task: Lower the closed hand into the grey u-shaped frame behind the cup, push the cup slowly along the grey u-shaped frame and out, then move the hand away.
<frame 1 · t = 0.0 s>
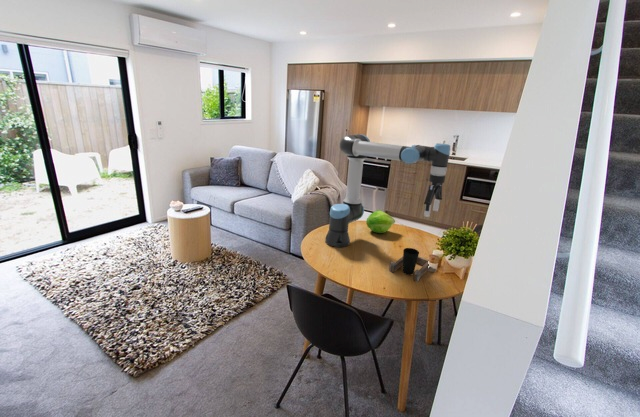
hand: (431, 213, 165), 28 cm above the table, fingers open, 13 cm apart
lettuce: (379, 232, 212), on the table
grey u-shaped frame: (410, 269, 163), on the table
cup: (407, 272, 161), on the table
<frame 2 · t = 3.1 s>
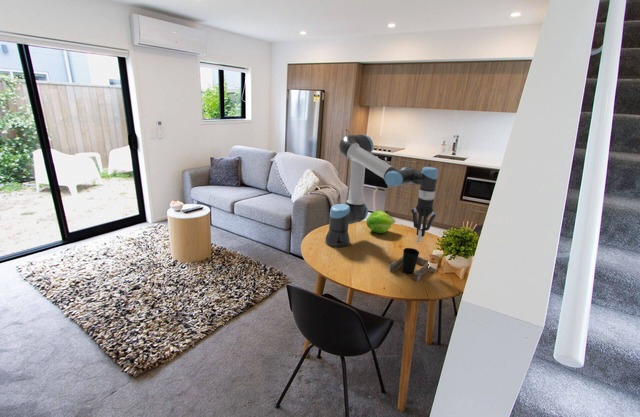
hand: (419, 241, 163), 14 cm above the table, fingers closed
nothing on the table moved.
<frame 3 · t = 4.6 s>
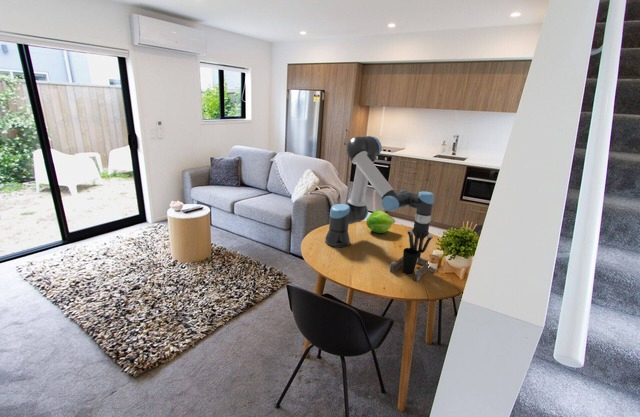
hand: (415, 262, 167), 2 cm above the table, fingers closed
nothing on the table moved.
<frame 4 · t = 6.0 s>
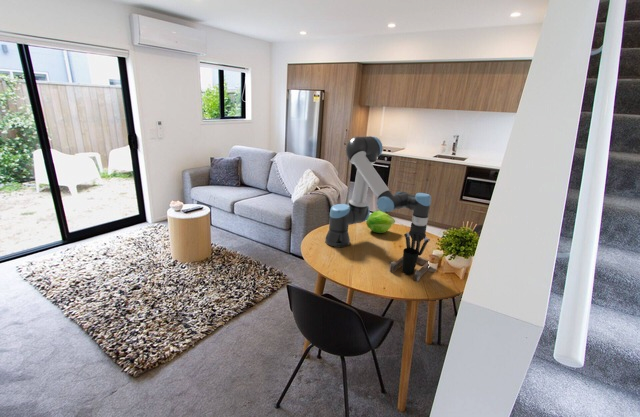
hand: (412, 265, 164), 2 cm above the table, fingers closed
cup: (407, 272, 160), on the table, touching gripper
everything else where it was.
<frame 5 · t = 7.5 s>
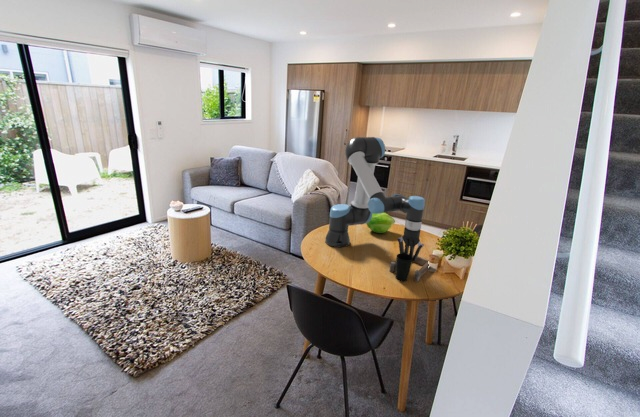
hand: (405, 271, 157), 2 cm above the table, fingers closed
cup: (401, 279, 154), on the table, touching gripper
everything else where it was.
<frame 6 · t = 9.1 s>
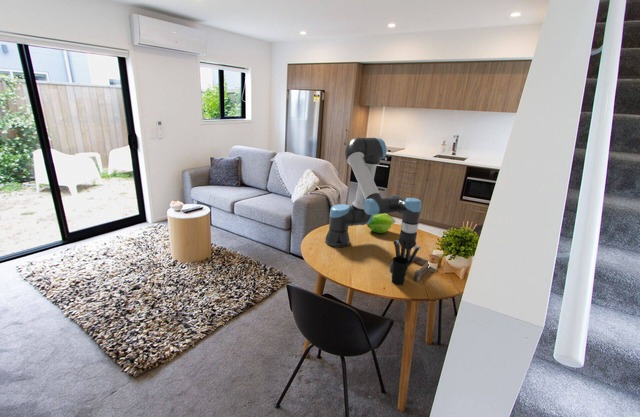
hand: (402, 274, 154), 2 cm above the table, fingers closed
cup: (397, 282, 150), on the table, touching gripper
everything else where it was.
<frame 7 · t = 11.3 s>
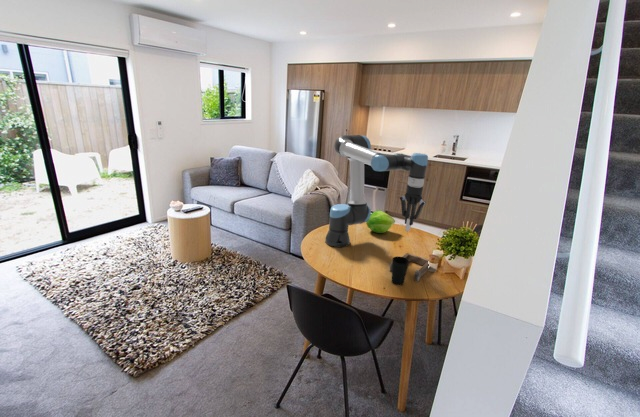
hand: (407, 230, 158), 21 cm above the table, fingers closed
cup: (397, 282, 150), on the table
everything else where it was.
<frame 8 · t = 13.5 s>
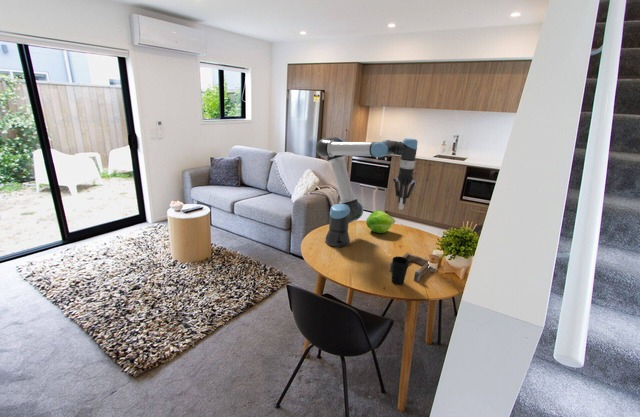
hand: (400, 208, 176), 26 cm above the table, fingers closed
nothing on the table moved.
at the end: cup inside the target area (2.8 cm from its centre), on the table; cup tilted 0°; cup touching table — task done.
